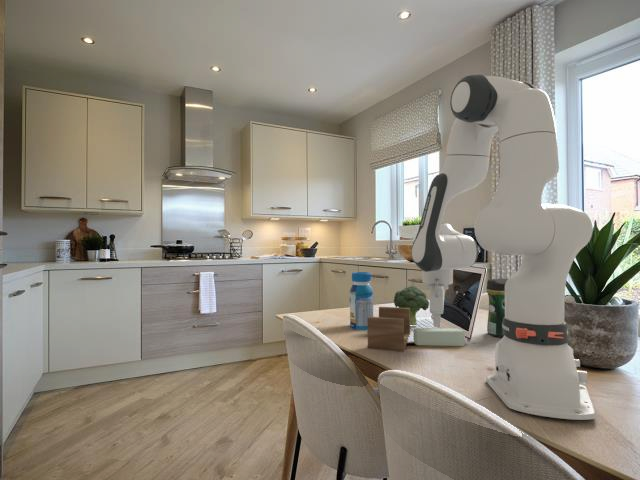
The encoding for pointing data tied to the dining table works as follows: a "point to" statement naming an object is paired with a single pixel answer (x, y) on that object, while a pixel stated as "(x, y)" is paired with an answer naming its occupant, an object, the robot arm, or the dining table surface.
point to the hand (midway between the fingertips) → (437, 323)
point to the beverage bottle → (361, 300)
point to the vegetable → (411, 301)
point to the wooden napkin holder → (389, 329)
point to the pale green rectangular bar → (438, 336)
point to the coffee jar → (496, 306)
